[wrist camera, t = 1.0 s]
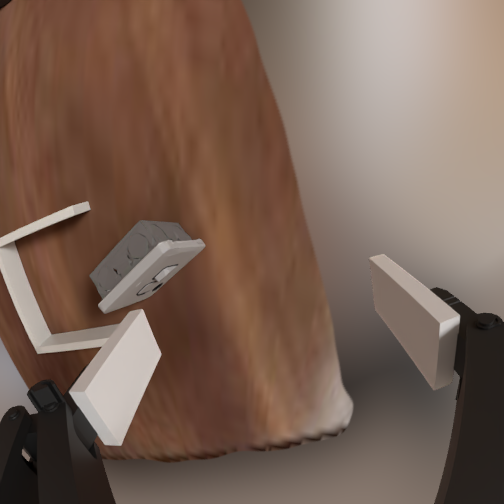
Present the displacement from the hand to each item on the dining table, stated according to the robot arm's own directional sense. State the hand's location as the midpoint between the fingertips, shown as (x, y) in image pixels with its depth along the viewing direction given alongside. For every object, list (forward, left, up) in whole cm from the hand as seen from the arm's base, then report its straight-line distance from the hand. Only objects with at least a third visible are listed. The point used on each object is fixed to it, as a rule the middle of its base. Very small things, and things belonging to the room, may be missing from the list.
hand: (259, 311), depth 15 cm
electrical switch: (0, -11, -18) cm, 21 cm away
